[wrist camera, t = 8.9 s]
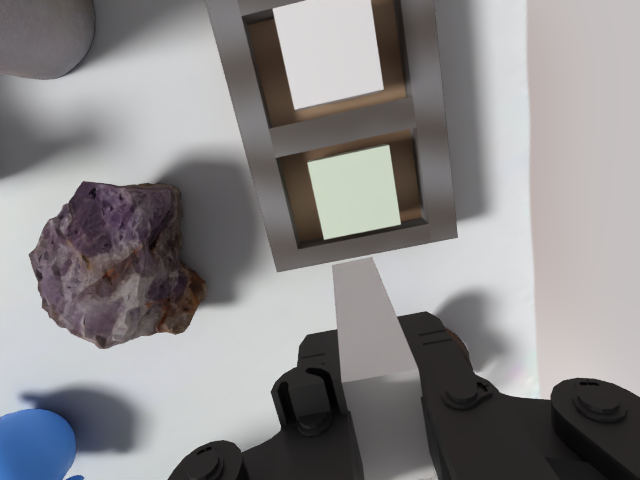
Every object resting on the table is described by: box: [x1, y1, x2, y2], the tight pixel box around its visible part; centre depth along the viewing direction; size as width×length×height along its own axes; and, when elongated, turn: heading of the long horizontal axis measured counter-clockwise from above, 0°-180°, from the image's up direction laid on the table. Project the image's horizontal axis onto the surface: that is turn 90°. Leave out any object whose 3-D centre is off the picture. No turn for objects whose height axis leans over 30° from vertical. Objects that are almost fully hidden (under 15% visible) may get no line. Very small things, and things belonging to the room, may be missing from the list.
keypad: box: [205, 0, 458, 272], centre depth 25 cm, size 28×14×4 cm, turn 12°
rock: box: [29, 181, 208, 349], centre depth 27 cm, size 12×9×10 cm
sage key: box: [307, 144, 401, 240], centre depth 26 cm, size 6×6×2 cm
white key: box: [273, 0, 384, 111], centre depth 22 cm, size 6×6×2 cm
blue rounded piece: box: [0, 409, 84, 480], centre depth 33 cm, size 12×12×8 cm
